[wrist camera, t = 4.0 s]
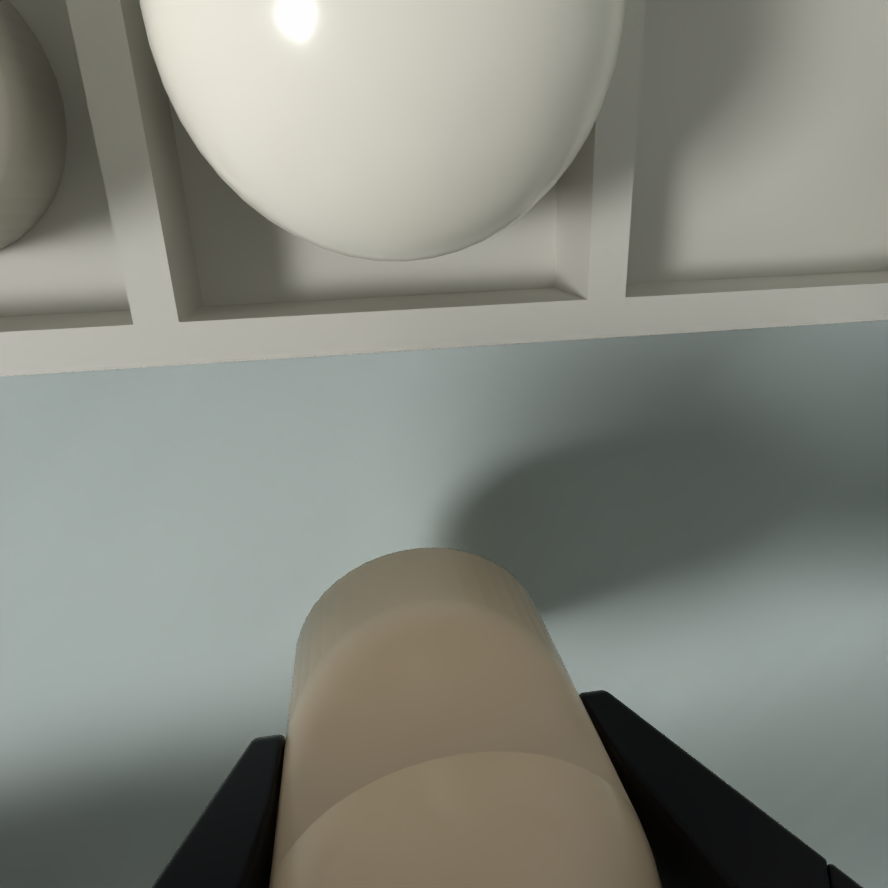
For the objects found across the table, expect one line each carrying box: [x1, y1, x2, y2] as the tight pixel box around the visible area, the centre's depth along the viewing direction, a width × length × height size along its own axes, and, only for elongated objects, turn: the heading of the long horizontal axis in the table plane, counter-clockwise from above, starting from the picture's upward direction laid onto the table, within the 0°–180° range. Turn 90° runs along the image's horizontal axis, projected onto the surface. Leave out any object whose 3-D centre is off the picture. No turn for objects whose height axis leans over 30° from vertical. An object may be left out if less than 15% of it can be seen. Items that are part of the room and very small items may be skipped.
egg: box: [140, 0, 626, 261], centre depth 7 cm, size 4×4×6 cm
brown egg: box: [269, 548, 662, 888], centre depth 8 cm, size 4×4×6 cm
